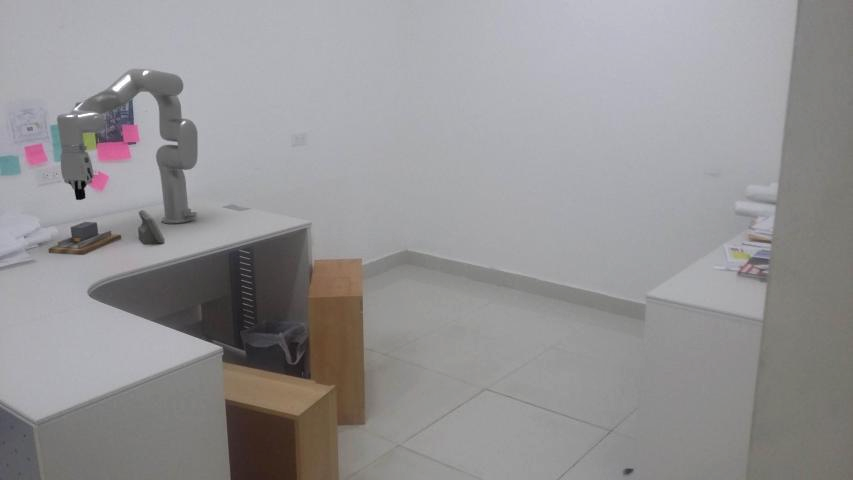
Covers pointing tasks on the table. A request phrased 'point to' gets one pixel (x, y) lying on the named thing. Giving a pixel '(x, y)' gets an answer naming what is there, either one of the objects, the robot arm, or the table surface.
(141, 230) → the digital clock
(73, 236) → the block
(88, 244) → the rail mount
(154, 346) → the table surface
